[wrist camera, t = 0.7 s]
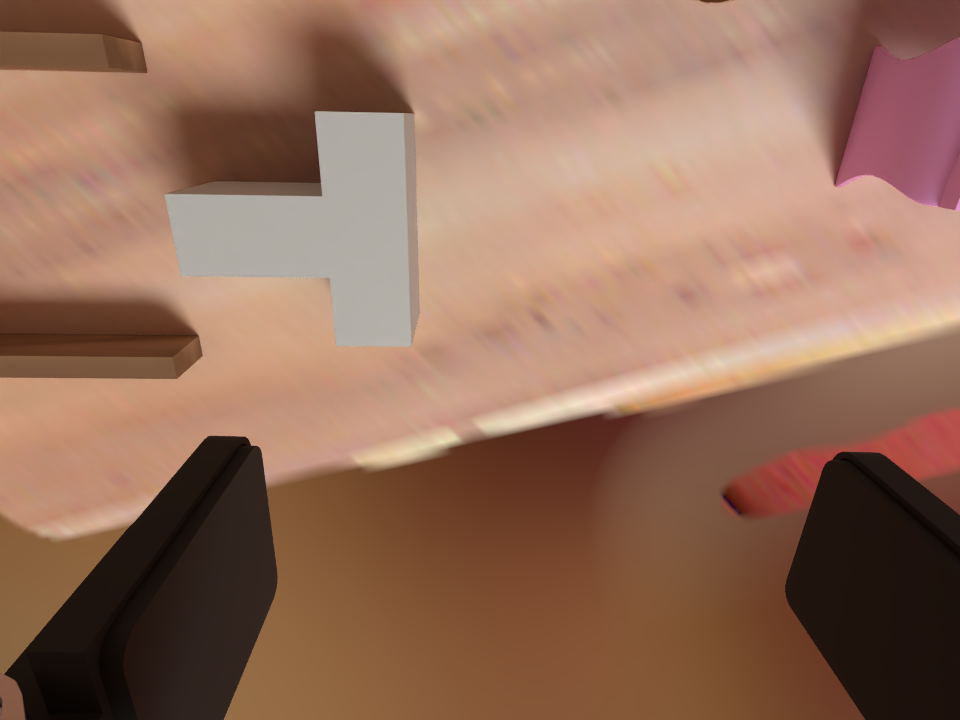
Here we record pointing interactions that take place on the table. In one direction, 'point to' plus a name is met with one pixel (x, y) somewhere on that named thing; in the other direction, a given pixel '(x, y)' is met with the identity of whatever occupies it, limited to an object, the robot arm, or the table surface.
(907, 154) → the toy chair
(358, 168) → the tee block
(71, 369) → the corral
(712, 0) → the coffee cup
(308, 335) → the table surface
